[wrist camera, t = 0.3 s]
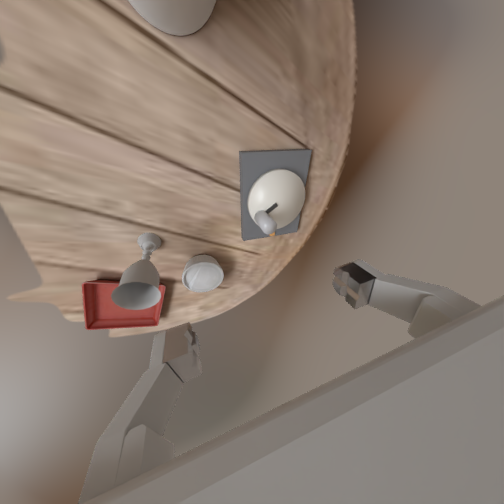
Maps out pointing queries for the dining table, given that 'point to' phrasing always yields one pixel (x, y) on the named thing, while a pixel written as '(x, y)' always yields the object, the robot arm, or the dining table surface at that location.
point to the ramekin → (202, 274)
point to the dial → (275, 199)
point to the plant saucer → (115, 308)
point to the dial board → (257, 165)
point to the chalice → (140, 279)
